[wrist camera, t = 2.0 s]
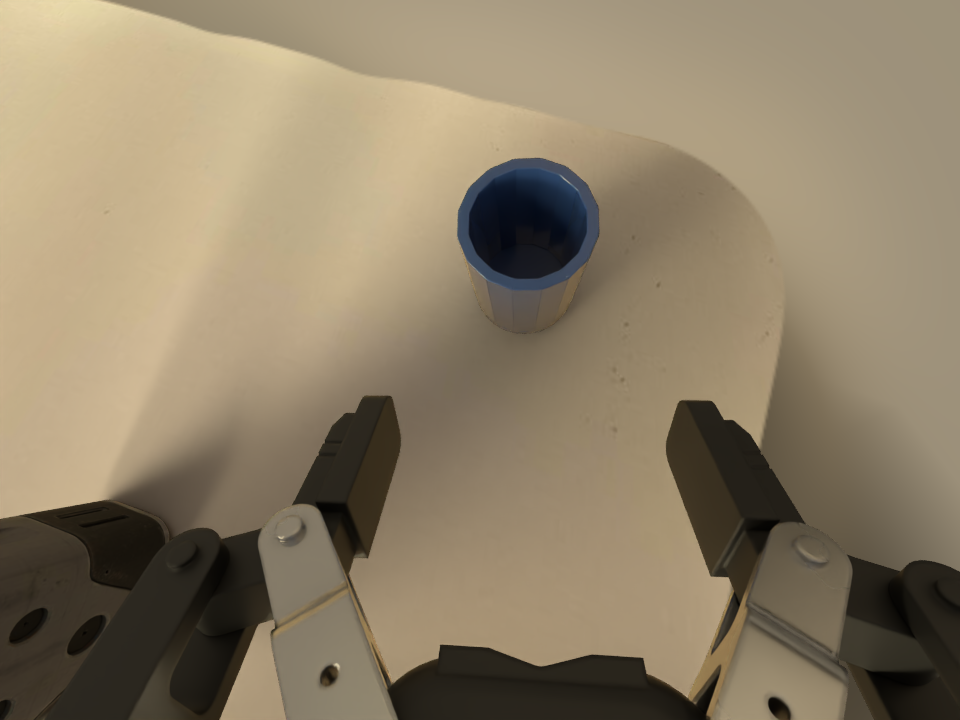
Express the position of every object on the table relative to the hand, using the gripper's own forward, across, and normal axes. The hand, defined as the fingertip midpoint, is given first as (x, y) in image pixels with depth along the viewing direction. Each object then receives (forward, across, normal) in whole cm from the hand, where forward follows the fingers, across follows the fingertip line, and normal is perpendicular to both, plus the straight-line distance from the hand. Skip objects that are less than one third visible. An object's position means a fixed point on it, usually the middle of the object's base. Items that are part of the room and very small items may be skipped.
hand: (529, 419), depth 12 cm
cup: (+14, 0, +3) cm, 14 cm away
